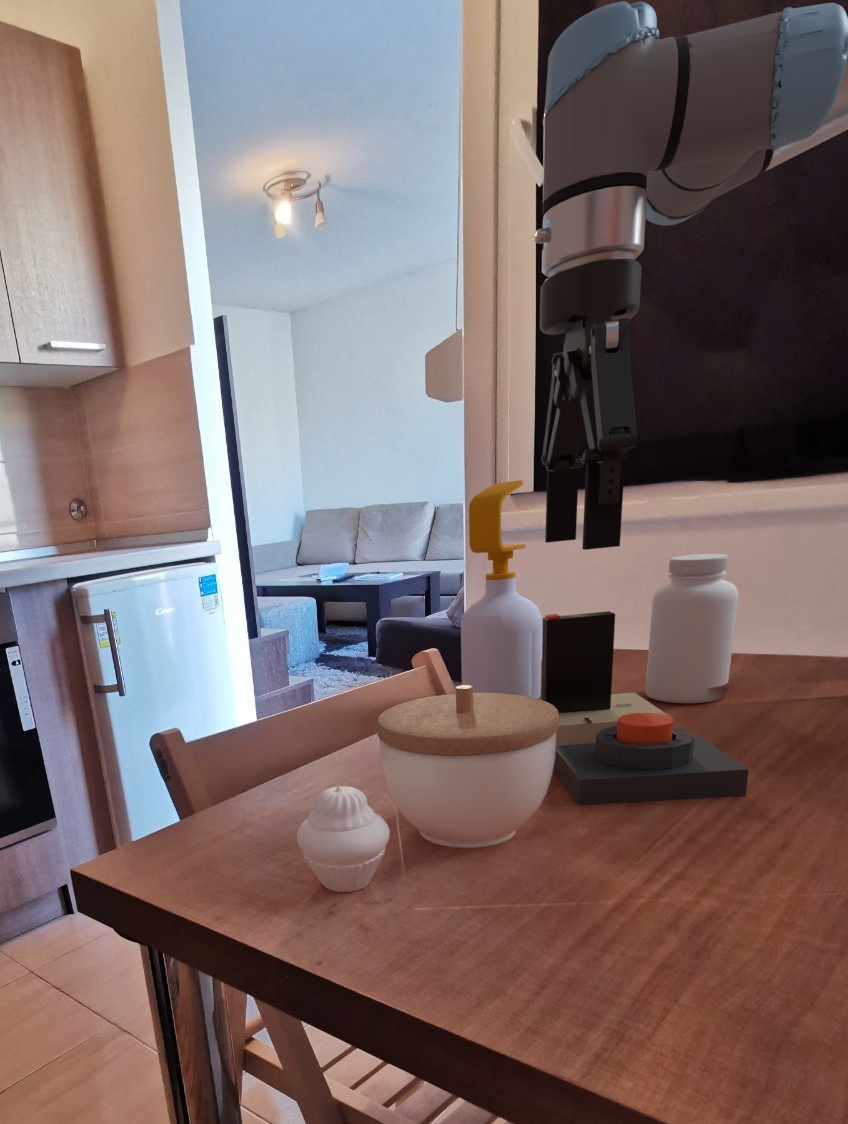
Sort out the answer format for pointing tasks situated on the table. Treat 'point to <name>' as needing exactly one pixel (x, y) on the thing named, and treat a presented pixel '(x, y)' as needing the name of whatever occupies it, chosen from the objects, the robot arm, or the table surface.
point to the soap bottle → (499, 611)
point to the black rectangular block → (578, 661)
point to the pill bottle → (692, 631)
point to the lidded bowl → (468, 763)
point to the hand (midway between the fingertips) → (578, 544)
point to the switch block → (648, 770)
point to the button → (645, 728)
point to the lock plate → (599, 719)
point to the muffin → (343, 839)
